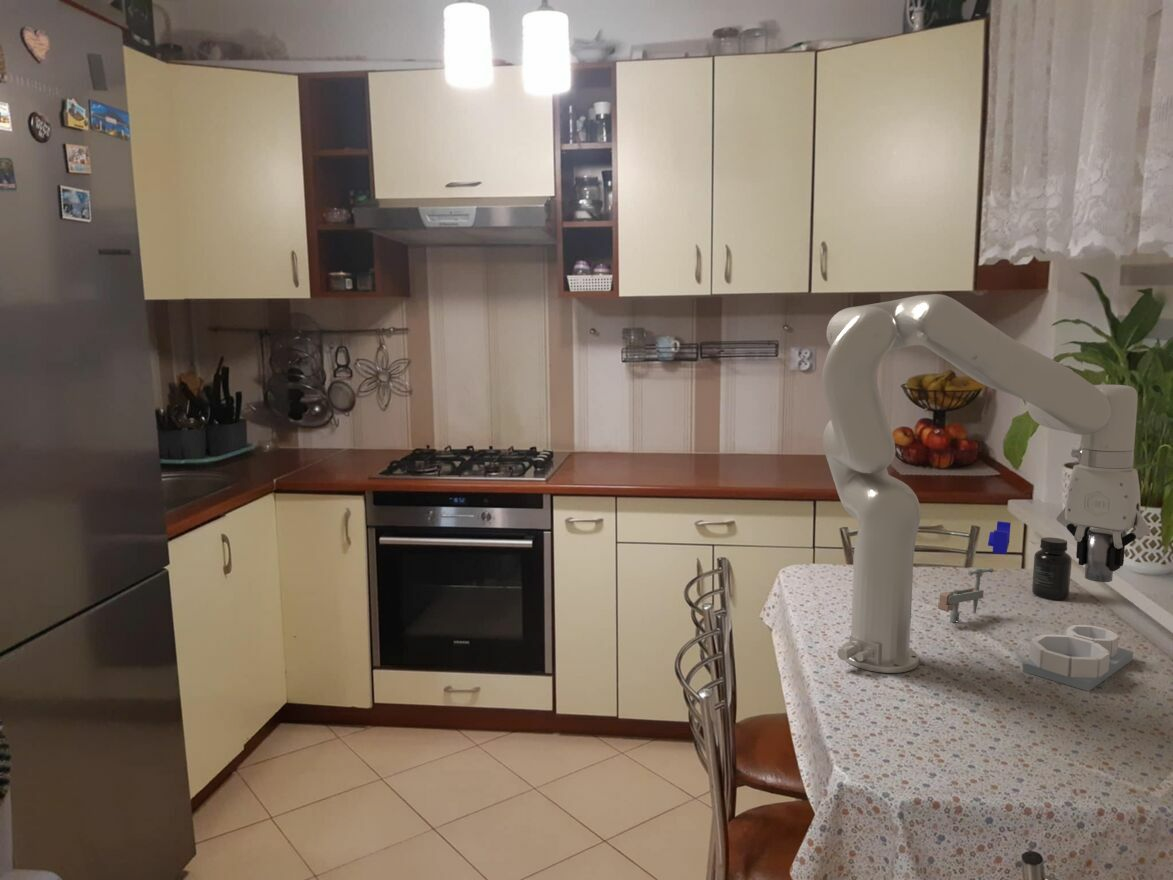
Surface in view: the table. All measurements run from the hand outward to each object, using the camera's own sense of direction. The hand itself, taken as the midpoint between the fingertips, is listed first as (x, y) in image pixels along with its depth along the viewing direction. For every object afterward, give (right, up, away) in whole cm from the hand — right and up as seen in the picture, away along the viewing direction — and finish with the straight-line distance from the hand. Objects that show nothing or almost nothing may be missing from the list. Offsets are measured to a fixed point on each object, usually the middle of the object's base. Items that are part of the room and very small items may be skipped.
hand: (1099, 565), depth 141 cm
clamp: (-13, -14, +21) cm, 29 cm away
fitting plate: (-4, -17, -1) cm, 17 cm away
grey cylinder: (0, -2, 0) cm, 2 cm away
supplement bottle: (+11, -12, +35) cm, 38 cm away
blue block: (+18, -7, +71) cm, 73 cm away
